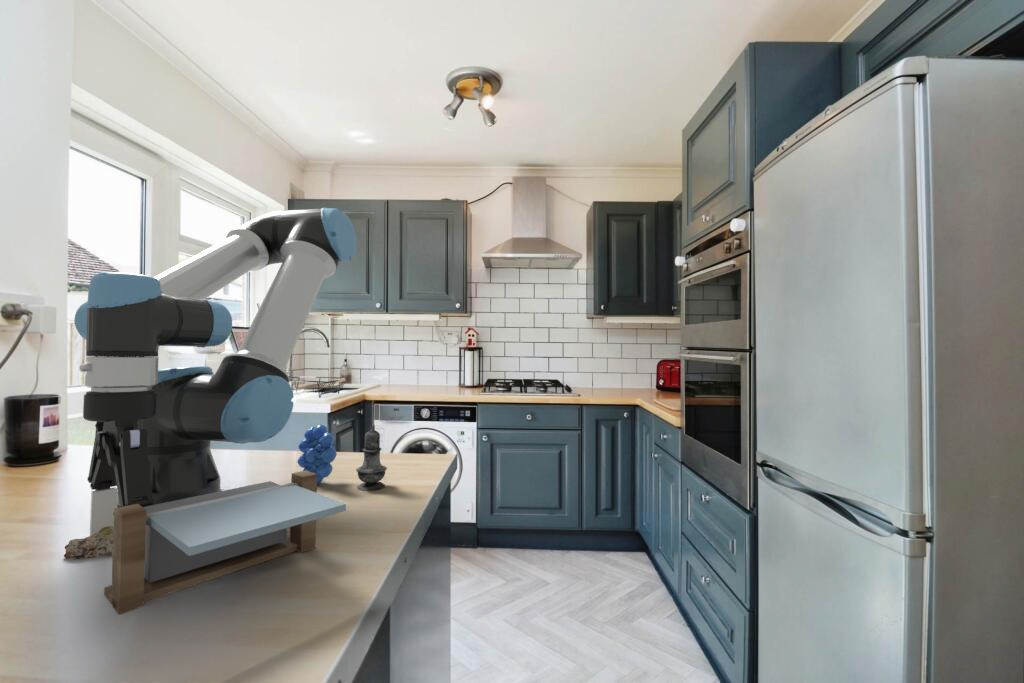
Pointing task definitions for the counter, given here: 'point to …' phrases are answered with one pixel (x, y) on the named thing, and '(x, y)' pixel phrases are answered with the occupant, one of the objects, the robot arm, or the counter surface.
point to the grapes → (317, 452)
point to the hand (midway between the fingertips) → (115, 549)
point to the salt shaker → (371, 463)
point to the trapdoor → (226, 525)
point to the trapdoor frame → (136, 589)
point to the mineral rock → (91, 545)
